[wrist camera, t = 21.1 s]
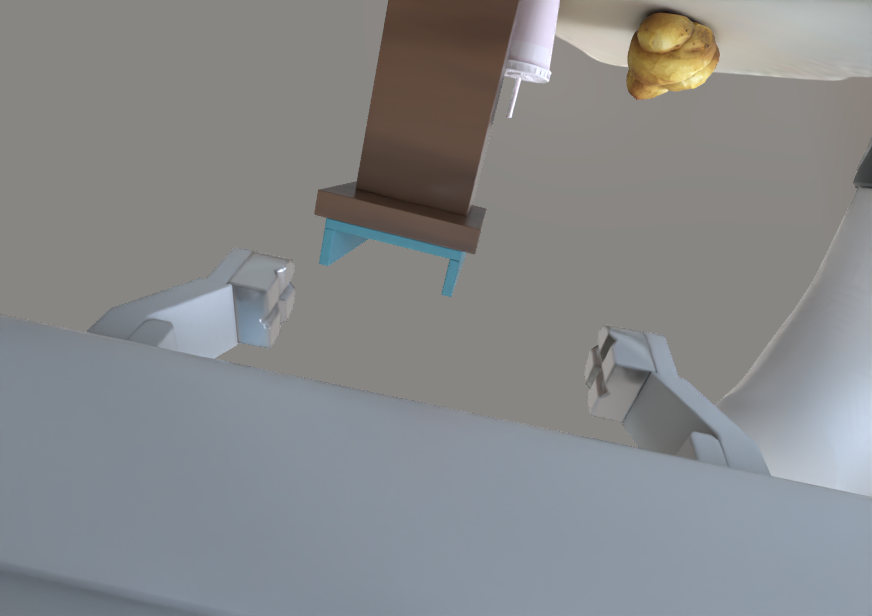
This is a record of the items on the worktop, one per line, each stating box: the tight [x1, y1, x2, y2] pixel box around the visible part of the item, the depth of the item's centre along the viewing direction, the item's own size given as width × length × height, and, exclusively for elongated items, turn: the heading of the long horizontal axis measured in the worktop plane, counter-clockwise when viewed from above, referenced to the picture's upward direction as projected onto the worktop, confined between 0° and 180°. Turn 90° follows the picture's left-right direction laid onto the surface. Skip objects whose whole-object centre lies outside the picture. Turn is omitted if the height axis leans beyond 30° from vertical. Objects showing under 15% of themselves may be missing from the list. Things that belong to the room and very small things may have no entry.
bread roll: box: [627, 13, 720, 100], centre depth 61 cm, size 13×10×8 cm
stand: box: [315, 0, 523, 254], centre depth 45 cm, size 16×13×26 cm
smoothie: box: [505, 0, 560, 118], centre depth 57 cm, size 6×6×14 cm
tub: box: [319, 218, 466, 297], centre depth 49 cm, size 15×11×4 cm
